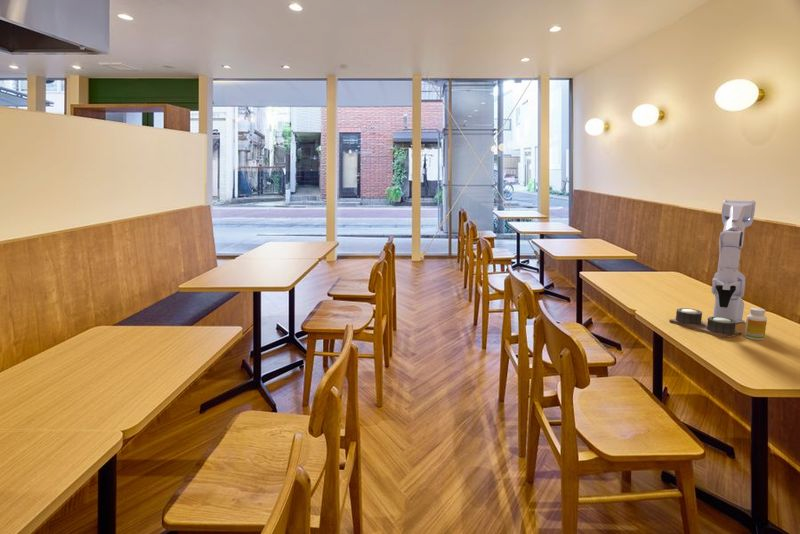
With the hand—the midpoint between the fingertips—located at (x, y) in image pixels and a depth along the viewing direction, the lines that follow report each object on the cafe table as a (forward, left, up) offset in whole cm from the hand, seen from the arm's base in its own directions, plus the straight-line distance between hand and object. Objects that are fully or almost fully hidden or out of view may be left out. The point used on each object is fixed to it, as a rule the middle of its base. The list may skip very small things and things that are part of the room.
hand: (723, 306), depth 170 cm
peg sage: (0, 0, -8) cm, 8 cm away
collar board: (0, -6, -9) cm, 11 cm away
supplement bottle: (-5, +8, -9) cm, 13 cm away
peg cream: (0, -12, -8) cm, 14 cm away
